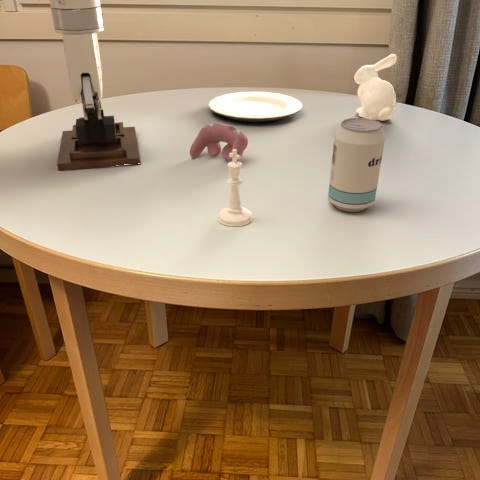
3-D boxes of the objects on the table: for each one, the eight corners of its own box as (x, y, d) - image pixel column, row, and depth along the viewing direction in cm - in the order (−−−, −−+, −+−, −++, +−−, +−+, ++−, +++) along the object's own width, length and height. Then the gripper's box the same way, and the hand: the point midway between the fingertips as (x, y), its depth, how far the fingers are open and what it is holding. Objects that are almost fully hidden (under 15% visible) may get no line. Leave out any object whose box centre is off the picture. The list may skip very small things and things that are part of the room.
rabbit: (345, 110, 120) (352, 52, 113) (382, 106, 122) (391, 49, 115) (372, 126, 111) (382, 63, 103) (411, 122, 113) (423, 60, 106)
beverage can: (364, 219, 76) (378, 135, 69) (320, 208, 79) (328, 126, 71) (379, 201, 81) (393, 121, 74) (336, 192, 84) (346, 113, 76)
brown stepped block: (58, 170, 90) (53, 146, 88) (63, 137, 104) (59, 115, 102) (140, 164, 93) (138, 140, 90) (135, 132, 107) (132, 111, 104)
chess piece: (233, 208, 79) (233, 141, 73) (259, 218, 76) (260, 149, 70) (210, 219, 76) (208, 150, 70) (236, 230, 73) (236, 159, 67)
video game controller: (244, 171, 94) (254, 131, 93) (231, 167, 90) (241, 125, 89) (200, 160, 99) (209, 121, 97) (186, 155, 95) (195, 115, 93)
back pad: (78, 144, 91) (75, 126, 89) (79, 135, 95) (76, 118, 93) (116, 141, 92) (114, 124, 90) (116, 133, 96) (113, 116, 94)
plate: (304, 101, 125) (304, 93, 124) (298, 129, 109) (299, 119, 108) (217, 97, 128) (217, 89, 127) (199, 124, 111) (199, 114, 110)
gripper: (56, 13, 88) (77, 124, 99) (49, 29, 75) (73, 156, 86) (102, 12, 89) (117, 122, 101) (103, 28, 76) (120, 152, 87)
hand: (97, 136), depth 93 cm, fingers closed on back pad, 4 cm apart
